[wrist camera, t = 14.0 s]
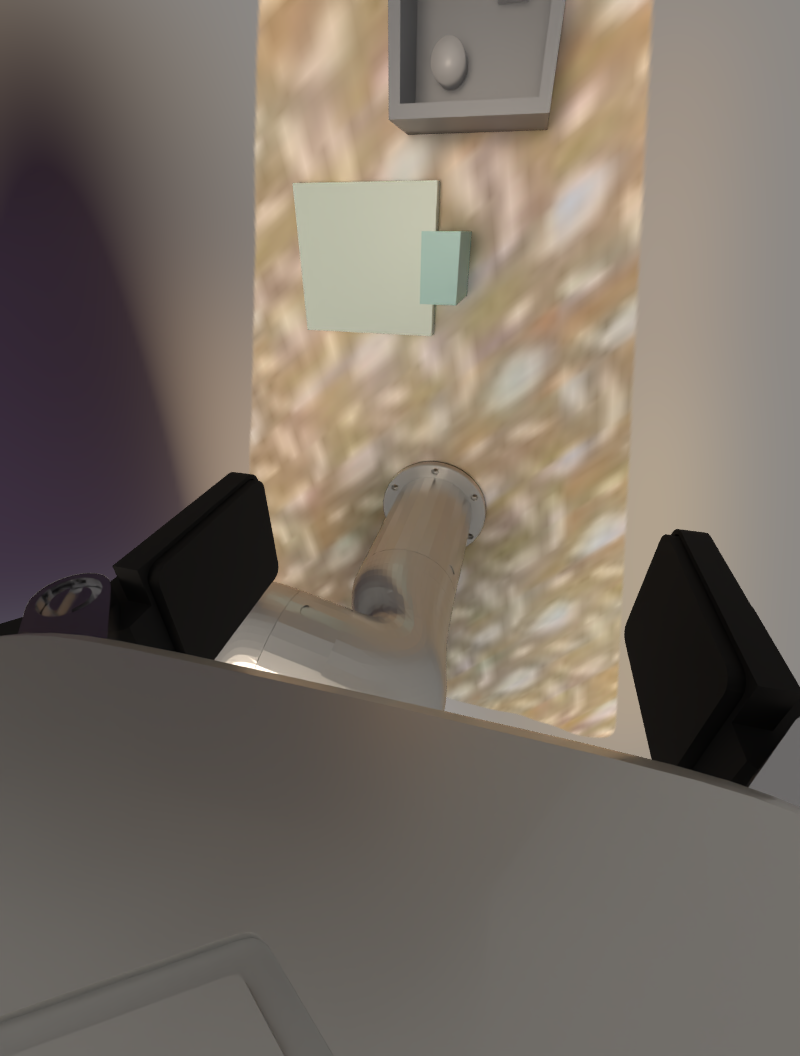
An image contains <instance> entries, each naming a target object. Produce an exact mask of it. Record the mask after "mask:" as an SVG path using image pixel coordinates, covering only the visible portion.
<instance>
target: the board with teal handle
mask: <svg viewBox="0 0 800 1056" xmlns="http://www.w3.org/2000/svg"><path fill="white" fill-rule="evenodd" d="M293 192H294V202H295V211H296V221H297V231H298V240H299V250H300V260H301V269H302V279H303V289H304V298H305V308H306V318H307V327H308V330H324V331H343V332H361V333H380V334H399V335H418V336H432V335H433V334H434V313H435V305H457V304H458V303H459V302H460V301H461V300H462V299H463V298H465V297H466V296H467V286H468V273H469V261H470V248H471V235H472V231H438V218H439V195H440V181H438V180H426V181H376V182H325V183H293Z"/></svg>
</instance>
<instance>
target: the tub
mask: <svg viewBox="0 0 800 1056" xmlns="http://www.w3.org/2000/svg"><path fill="white" fill-rule="evenodd" d="M565 1H566V0H388V52H389V120H390V121H391V122H392V123H394V124H395V125H396V126H398V127H399V128H400V129H401V130H403V131H404V132H405V133H406V134H408V135H415V134H443V133H471V132H500V131H528V130H547V126H548V119H549V112H550V105H551V99H552V92H553V85H554V78H555V71H556V64H557V57H558V50H559V43H560V36H561V29H562V22H563V15H564V8H565Z"/></svg>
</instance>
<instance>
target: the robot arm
mask: <svg viewBox="0 0 800 1056" xmlns="http://www.w3.org/2000/svg"><path fill="white" fill-rule="evenodd" d="M435 468H437V469H438V470H435ZM396 485H397V486H396ZM473 494H475V495H476V496H475V495H473ZM383 510H384V514H385V518H386V519H385V521H384V523H383V525H382V527H381V529H380V531H379V533H378V534H377V536H376V538H375V540H374V542H373V544H372V546H371V548H370V550H369V552H368V554H367V556H366V558H365V560H364V562H363V564H362V566H361V568H360V570H359V572H358V574H357V576H356V578H355V581H354V585H353V590H352V608H353V610H351V609H348V608H346V607H343V606H340V605H338V604H335V603H333V602H330V601H328V600H325V599H322V598H320V597H317V596H315V595H312V594H310V593H307V592H304V591H301V590H298V589H296V588H293V587H290V586H287V585H284V584H281V583H276V582H273V581H274V579H275V578H276V576H277V573H278V560H277V555H276V549H275V544H274V538H273V533H272V528H271V522H270V517H269V511H268V506H267V500H266V495H265V489H264V485H263V483H262V482H260V481H258V479H257V477H256V476H255V475H252V474H243V473H236V472H231V473H229V474H228V475H227V476H225V477H224V478H223V479H221V480H220V481H219V482H218V483H216V484H215V485H214V486H213V487H211V488H210V489H209V490H208V491H206V492H205V493H204V494H203V495H201V496H200V497H199V498H198V499H197V500H195V501H194V502H192V503H191V504H190V505H189V506H187V507H186V508H185V509H184V510H182V511H181V512H180V513H179V514H177V515H176V516H175V517H174V518H172V519H171V520H170V521H168V522H167V523H166V524H165V525H163V526H162V527H161V528H160V529H159V530H157V531H156V532H155V533H154V534H152V535H151V536H150V537H148V538H147V539H146V540H145V541H143V542H142V543H141V544H140V545H138V546H137V547H136V548H134V549H133V550H132V551H131V552H129V553H128V554H127V555H126V556H124V557H123V558H122V559H121V560H119V561H118V562H117V563H116V564H114V565H113V568H114V570H115V573H116V575H117V577H116V578H115V579H113V580H112V581H111V582H110V580H109V579H108V578H107V577H106V576H104V575H101V574H97V573H83V574H77V575H72V576H69V577H66V578H62V579H60V580H57V581H55V582H53V583H51V584H49V585H47V586H46V587H44V588H43V589H41V590H40V591H38V592H37V593H36V594H35V595H34V596H33V597H32V598H31V599H30V600H29V602H28V604H27V606H26V608H25V611H24V615H23V617H21V618H18V619H15V620H11V621H8V622H5V623H2V624H0V1056H800V687H799V685H798V683H797V681H796V680H795V678H794V676H793V675H792V673H791V671H790V670H789V668H788V666H787V664H786V663H785V661H784V659H783V658H782V656H781V654H780V653H779V651H778V649H777V647H776V646H775V644H774V643H773V641H772V639H771V637H770V636H769V634H768V632H767V630H766V629H765V627H764V625H763V624H762V622H761V620H760V619H759V617H758V615H757V613H756V612H755V610H754V609H753V607H752V606H751V605H750V603H749V602H748V600H747V598H746V596H745V594H744V593H743V591H742V589H741V588H740V586H739V584H738V582H737V581H736V579H735V577H734V576H733V574H732V572H731V571H730V569H729V567H728V565H727V564H726V562H725V561H724V559H723V557H722V555H721V554H720V552H719V550H718V548H717V547H716V545H715V543H714V542H713V540H712V538H711V537H710V535H709V534H708V533H704V532H696V531H688V530H679V529H676V530H674V531H673V533H672V534H671V535H666V534H665V535H664V536H662V538H661V540H660V542H659V544H658V547H657V549H656V552H655V554H654V557H653V559H652V561H651V564H650V567H649V569H648V571H647V574H646V576H645V579H644V581H643V584H642V586H641V589H640V591H639V593H638V596H637V598H636V601H635V603H634V606H633V608H632V611H631V613H630V616H629V618H628V620H627V623H626V626H625V634H624V635H625V643H626V647H627V652H628V657H629V661H630V665H631V670H632V674H633V679H634V683H635V688H636V692H637V696H638V701H639V705H640V710H641V714H642V718H643V723H644V727H645V732H646V736H647V741H648V745H649V749H650V754H651V758H652V760H651V759H647V758H643V757H639V756H634V755H630V754H626V753H622V752H618V751H614V750H610V749H606V748H601V747H597V746H594V745H589V744H585V743H581V742H577V741H573V740H568V739H564V738H559V737H555V736H551V735H547V734H542V733H538V732H534V731H529V730H525V729H520V728H516V727H512V726H507V725H503V724H498V723H494V722H489V721H485V720H481V719H476V718H472V717H468V716H464V715H459V714H455V713H450V712H446V711H444V709H445V703H446V689H447V673H446V651H447V638H448V631H449V625H450V619H451V614H452V609H453V605H454V599H455V595H456V590H457V585H458V581H459V576H460V571H461V566H462V562H463V557H464V552H465V548H466V547H467V546H468V545H469V544H471V543H472V542H473V541H474V540H475V539H476V538H477V537H478V535H479V534H480V532H481V530H482V528H483V525H484V521H485V515H486V506H485V500H484V497H483V494H482V492H481V490H480V489H479V487H478V485H477V484H476V483H475V482H474V481H473V479H472V478H471V477H469V476H468V475H467V474H466V473H465V472H463V471H461V470H460V469H458V468H456V467H454V466H451V465H448V464H445V463H439V462H421V463H416V464H413V465H411V466H408V467H406V468H404V469H403V470H402V471H400V472H399V473H398V474H397V475H396V476H395V477H394V478H393V479H392V481H391V482H390V484H389V485H388V487H387V490H386V492H385V495H384V500H383Z"/></svg>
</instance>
